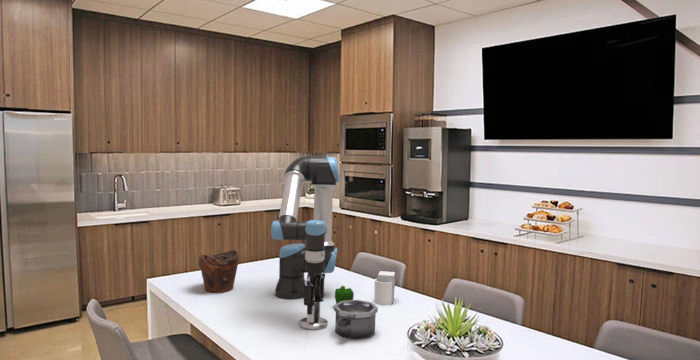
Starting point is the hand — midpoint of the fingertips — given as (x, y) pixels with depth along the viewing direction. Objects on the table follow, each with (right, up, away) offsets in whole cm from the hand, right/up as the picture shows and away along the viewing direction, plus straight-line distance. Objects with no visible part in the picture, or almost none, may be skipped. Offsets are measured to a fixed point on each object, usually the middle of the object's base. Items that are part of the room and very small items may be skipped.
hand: (313, 319), depth 185 cm
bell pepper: (+11, -1, +21) cm, 24 cm away
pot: (+16, -3, -5) cm, 17 cm away
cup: (+30, -1, +31) cm, 43 cm away
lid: (0, -2, 0) cm, 2 cm away
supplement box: (+30, -1, +32) cm, 44 cm away
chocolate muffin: (-49, +2, +42) cm, 65 cm away
